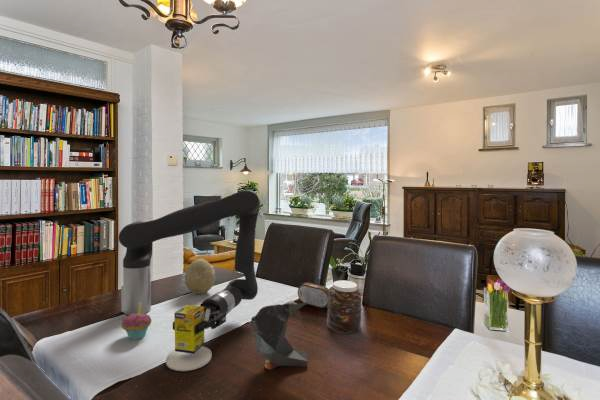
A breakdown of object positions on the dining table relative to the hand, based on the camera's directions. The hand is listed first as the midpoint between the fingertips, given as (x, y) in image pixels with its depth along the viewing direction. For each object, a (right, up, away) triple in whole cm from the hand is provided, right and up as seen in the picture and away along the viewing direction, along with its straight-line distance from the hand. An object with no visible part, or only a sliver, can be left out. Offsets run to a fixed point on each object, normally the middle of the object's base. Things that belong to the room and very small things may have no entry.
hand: (184, 328), depth 92 cm
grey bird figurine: (+25, -11, +2) cm, 28 cm away
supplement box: (+1, -7, +3) cm, 7 cm away
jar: (+46, -10, +27) cm, 54 cm away
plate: (0, -10, +3) cm, 10 cm away
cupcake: (-21, -9, +16) cm, 27 cm away
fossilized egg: (-12, -6, +56) cm, 58 cm away
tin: (+37, -8, +46) cm, 59 cm away
